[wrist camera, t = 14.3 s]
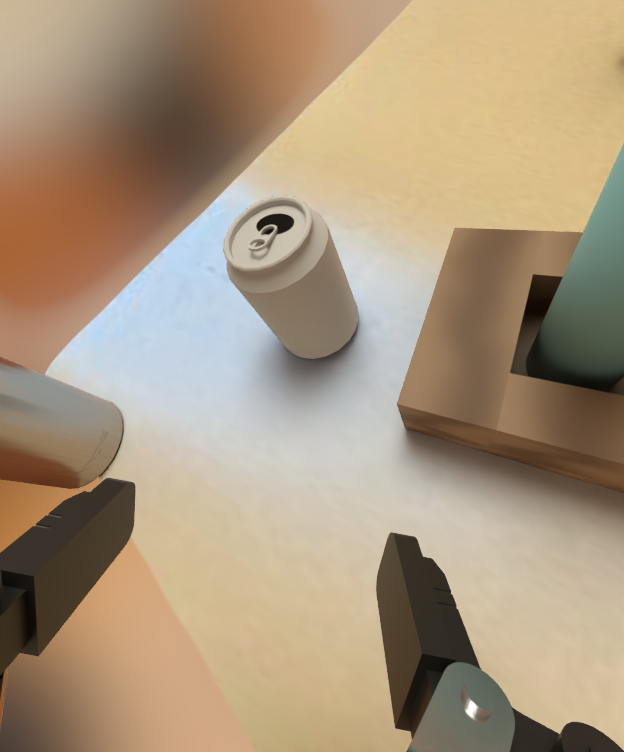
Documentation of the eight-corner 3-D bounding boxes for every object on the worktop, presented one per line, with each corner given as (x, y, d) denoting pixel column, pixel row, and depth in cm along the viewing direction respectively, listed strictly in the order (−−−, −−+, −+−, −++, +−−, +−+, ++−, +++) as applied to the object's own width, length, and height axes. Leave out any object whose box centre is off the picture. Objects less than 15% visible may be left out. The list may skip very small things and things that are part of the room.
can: (372, 299, 31) (338, 184, 21) (342, 372, 29) (289, 283, 19) (302, 289, 35) (243, 184, 24) (271, 353, 33) (193, 269, 22)
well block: (405, 428, 26) (397, 403, 21) (452, 276, 30) (454, 227, 25) (746, 528, 18) (854, 525, 13) (750, 305, 22) (835, 241, 17)
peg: (518, 390, 23) (627, 174, 10) (533, 327, 25) (647, 62, 11) (611, 411, 21) (924, 169, 7) (621, 341, 22) (901, 29, 9)
